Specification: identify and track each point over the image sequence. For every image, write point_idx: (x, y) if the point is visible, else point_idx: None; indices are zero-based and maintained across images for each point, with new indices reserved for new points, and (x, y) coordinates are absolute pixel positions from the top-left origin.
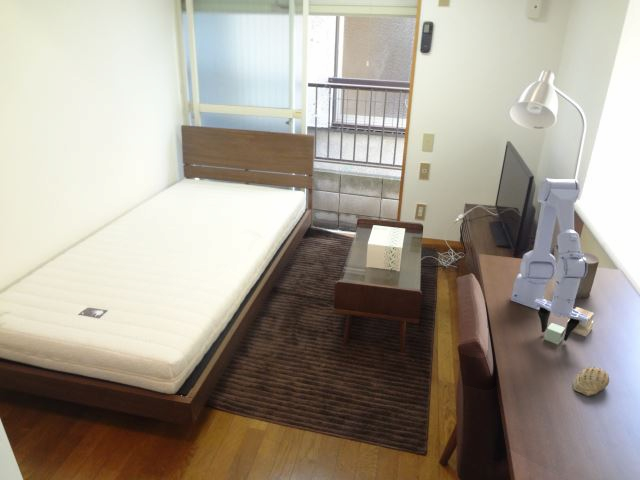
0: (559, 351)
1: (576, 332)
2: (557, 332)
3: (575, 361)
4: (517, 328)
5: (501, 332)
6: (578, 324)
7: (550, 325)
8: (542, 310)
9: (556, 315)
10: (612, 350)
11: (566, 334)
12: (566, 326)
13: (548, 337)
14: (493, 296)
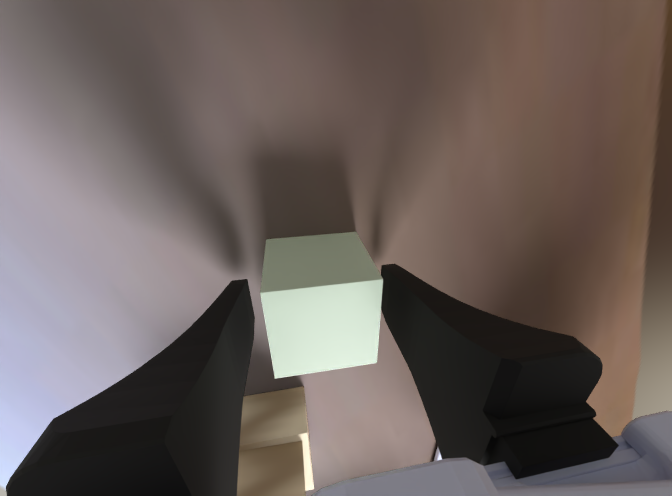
0: (219, 165)
1: (249, 399)
2: (292, 287)
3: (51, 117)
4: (515, 220)
5: (610, 94)
6: (248, 452)
7: (372, 329)
8: (560, 420)
9: (401, 493)
10: (28, 402)
11: (219, 311)
12: (303, 402)
13: (339, 243)
14: (620, 368)
